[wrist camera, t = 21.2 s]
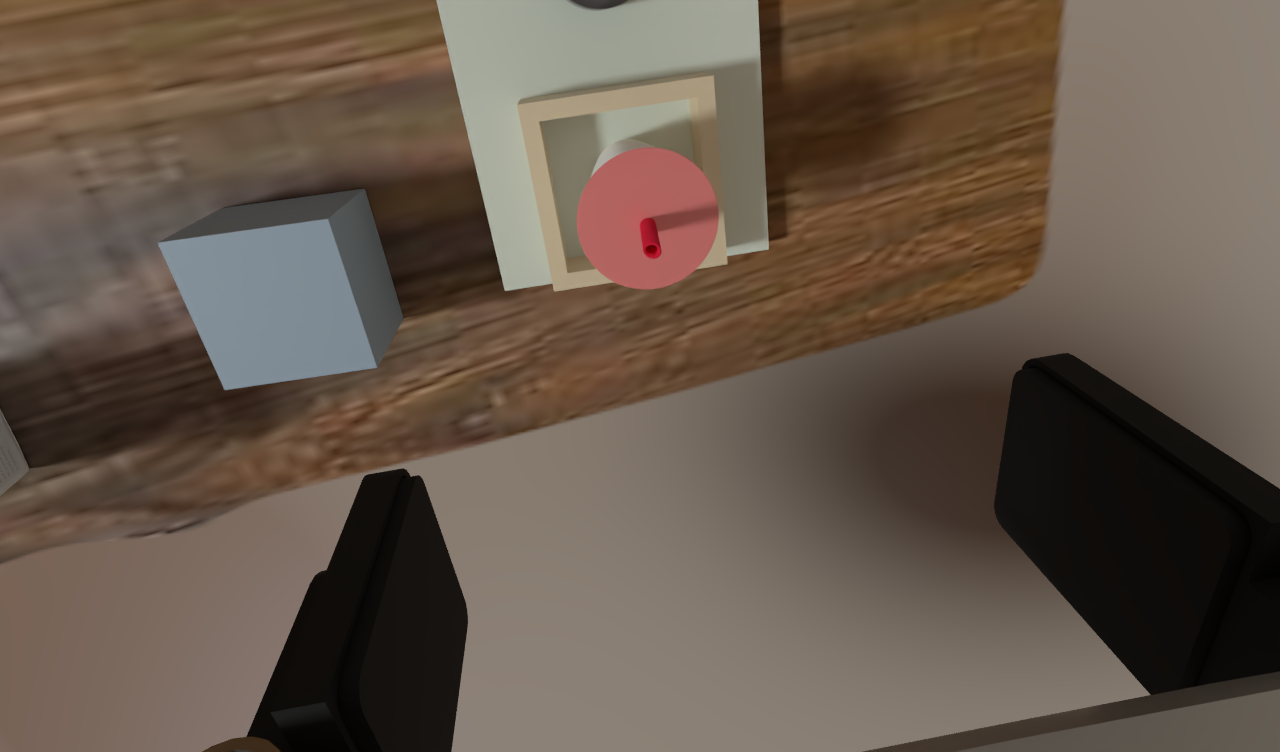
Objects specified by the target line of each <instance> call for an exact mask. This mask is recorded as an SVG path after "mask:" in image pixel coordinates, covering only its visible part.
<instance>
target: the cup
mask: <svg viewBox="0 0 1280 752" xmlns="http://www.w3.org/2000/svg"><path fill="white" fill-rule="evenodd" d="M718 222H719V211H718V203H717V199H716V195H715V192H714V190H713V187H712V185H711V183H710V182H709V180H708V178H707V177H706V175H705V174H704V173H703V172H702V171H701V169H700V168H699V167H698V166H697V165H695V164H694V163H693V162H692V161H690V160H689V159H688V158H686V157H684V156H682V155H680V154H678V153H676V152H673V151H670V150H667V149H662V148H656V147H654V146H651V145H649V144H647V143H644V142H641V141H638V140H632V139H626V140H620V141H617V142H614V143H613V144H611V145H609V146H608V147H607V148H606V149H604V150H603V152H602V153H601V154H600V156H599V157H598V159H597V162H596V164H595V166H594V169H593V172H592V175H591V177H590V180H589V181H588V183H587V184H586V186H585V188H584V190H583V192H582V195H581V198H580V201H579V205H578V210H577V231H578V236H579V240H580V243H581V246H582V248H583V251H584V253H585V254H586V256H587V258H588V259H589V261H590V262H591V263H592V265H593V266H594V267H595V268H596V269H597V270H598V271H599V272H600V273H601V274H603V275H604V276H605V277H607V278H608V279H610V280H611V281H613V282H615V283H617V284H620V285H622V286H626V287H629V288H634V289H657V288H662V287H666V286H669V285H672V284H674V283H676V282H678V281H680V280H682V279H684V278H685V277H687V276H688V275H689V274H691V273H692V272H693V271H694V270H695V269H696V268H697V267H698V266H699V265H700V264H701V263H702V262H703V261H704V259H705V258H706V256H707V255H708V253H709V251H710V250H711V248H712V245H713V243H714V240H715V237H716V234H717V229H718Z"/></svg>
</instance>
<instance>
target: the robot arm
mask: <svg viewBox="0 0 1280 752" xmlns="http://www.w3.org/2000/svg"><path fill="white" fill-rule="evenodd" d="M994 509H995V514H996V517H997V520H998V522H999V524H1000V525H1001V526H1002V528H1003V529H1004V530H1005V531H1006V532H1007V533H1008V535H1009V536H1010V537H1011V538H1012V539H1013V540H1014V541H1015V542H1016V544H1017V545H1018V546H1019V547H1020V548H1021V549H1022V550H1023V551H1024V552H1025V554H1026V555H1027V556H1028V557H1029V558H1030V559H1031V560H1032V562H1033V563H1034V564H1035V565H1036V566H1037V567H1038V568H1039V569H1040V571H1041V572H1042V573H1043V574H1044V575H1045V576H1046V577H1047V579H1048V580H1049V581H1050V582H1051V583H1052V584H1053V585H1054V586H1055V587H1056V589H1057V590H1058V591H1059V592H1060V593H1061V594H1062V595H1063V597H1064V598H1065V599H1066V600H1067V601H1068V602H1069V603H1070V604H1071V605H1072V606H1073V608H1074V609H1075V610H1076V611H1077V612H1078V613H1079V614H1080V616H1081V617H1082V618H1083V619H1084V620H1085V621H1086V622H1087V624H1088V625H1089V626H1090V627H1091V628H1092V629H1093V630H1094V631H1095V632H1096V634H1097V635H1098V636H1099V637H1100V638H1101V639H1102V640H1103V642H1104V643H1105V644H1106V645H1107V646H1108V647H1109V648H1110V649H1111V650H1112V652H1113V653H1114V654H1115V655H1116V656H1117V657H1118V658H1119V660H1120V661H1121V662H1122V663H1123V664H1124V665H1125V666H1126V667H1127V669H1128V670H1129V671H1130V672H1131V673H1132V674H1133V675H1134V676H1135V678H1136V679H1137V680H1138V681H1139V682H1140V683H1141V684H1142V686H1143V687H1144V688H1145V689H1146V690H1147V691H1148V692H1149V693H1150V694H1151V695H1149V696H1144V697H1139V698H1134V699H1129V700H1123V701H1119V702H1113V703H1108V704H1103V705H1098V706H1093V707H1087V708H1082V709H1077V710H1072V711H1066V712H1061V713H1056V714H1051V715H1046V716H1040V717H1035V718H1030V719H1025V720H1020V721H1015V722H1010V723H1005V724H1000V725H995V726H990V727H984V728H979V729H975V730H969V731H964V732H960V733H955V734H949V735H944V736H939V737H934V738H929V739H924V740H919V741H914V742H909V743H904V744H899V745H894V746H889V747H884V748H879V749H874V750H869V751H864V752H1280V489H1279V488H1278V487H1276V486H1274V485H1273V484H1271V483H1270V482H1268V481H1267V480H1265V479H1264V478H1262V477H1260V476H1259V475H1257V474H1256V473H1254V472H1253V471H1251V470H1250V469H1248V468H1247V467H1245V466H1244V465H1242V464H1240V463H1239V462H1237V461H1236V460H1234V459H1233V458H1231V457H1230V456H1228V455H1227V454H1225V453H1224V452H1222V451H1220V450H1219V449H1217V448H1216V447H1214V446H1213V445H1211V444H1210V443H1208V442H1207V441H1205V440H1203V439H1202V438H1200V437H1199V436H1197V435H1196V434H1194V433H1193V432H1191V431H1190V430H1188V429H1186V428H1185V427H1183V426H1182V425H1180V424H1179V423H1177V422H1176V421H1174V420H1173V419H1171V418H1169V417H1168V416H1166V415H1165V414H1163V413H1162V412H1160V411H1159V410H1157V409H1156V408H1154V407H1152V406H1151V405H1149V404H1148V403H1146V402H1145V401H1143V400H1142V399H1140V398H1139V397H1137V396H1135V395H1134V394H1132V393H1131V392H1129V391H1128V390H1126V389H1125V388H1123V387H1121V386H1120V385H1118V384H1117V383H1115V382H1114V381H1112V380H1111V379H1109V378H1108V377H1106V376H1105V375H1103V374H1101V373H1100V372H1098V371H1097V370H1095V369H1094V368H1092V367H1091V366H1089V365H1088V364H1086V363H1084V362H1083V361H1081V360H1080V359H1078V358H1077V357H1075V356H1073V355H1071V354H1069V353H1065V354H1064V353H1063V354H1057V355H1051V356H1045V357H1040V358H1034V359H1030V360H1028V361H1026V362H1025V364H1024V365H1023V367H1022V370H1020V371H1018V372H1016V374H1015V375H1014V378H1013V382H1012V389H1011V395H1010V402H1009V409H1008V415H1007V422H1006V429H1005V435H1004V442H1003V449H1002V456H1001V462H1000V469H999V475H998V482H997V488H996V495H995V502H994ZM467 626H468V615H467V608H466V602H465V599H464V596H463V593H462V590H461V588H460V585H459V582H458V579H457V576H456V574H455V570H454V567H453V564H452V562H451V559H450V556H449V553H448V550H447V547H446V544H445V542H444V539H443V536H442V533H441V530H440V527H439V524H438V521H437V518H436V515H435V513H434V510H433V507H432V504H431V501H430V498H429V495H428V492H427V490H426V487H425V484H424V481H423V479H422V478H421V477H420V476H419V475H418V476H412V477H410V475H409V473H408V472H407V470H405V469H397V470H392V471H386V472H380V473H374V474H369V475H366V476H365V477H364V478H363V480H362V482H361V485H360V488H359V490H358V493H357V495H356V498H355V500H354V503H353V505H352V508H351V510H350V513H349V516H348V518H347V520H346V523H345V525H344V528H343V530H342V533H341V535H340V538H339V541H338V543H337V545H336V548H335V551H334V553H333V556H332V558H331V561H330V563H329V566H328V568H327V570H325V571H321V572H319V573H318V574H317V575H315V577H314V578H313V580H312V582H311V583H310V585H309V588H308V590H307V593H306V595H305V598H304V600H303V602H302V605H301V607H300V610H299V612H298V614H297V617H296V619H295V622H294V624H293V626H292V629H291V632H290V634H289V636H288V639H287V641H286V643H285V646H284V649H283V651H282V653H281V655H280V658H279V660H278V662H277V665H276V667H275V670H274V672H273V675H272V677H271V679H270V682H269V684H268V687H267V689H266V691H265V694H264V696H263V698H262V701H261V703H260V706H259V708H258V711H257V713H256V715H255V718H254V720H253V723H252V725H251V727H250V730H249V732H248V735H247V737H243V738H235V739H230V740H228V741H225V742H222V743H220V744H217V745H214V746H211V747H210V748H208V749H206V750H205V751H203V752H451V749H452V742H453V734H454V727H455V719H456V711H457V704H458V696H459V688H460V680H461V673H462V664H463V657H464V650H465V642H466V634H467Z"/></svg>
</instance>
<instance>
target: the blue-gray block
mask: <svg viewBox="0 0 1280 752" xmlns="http://www.w3.org/2000/svg"><path fill="white" fill-rule="evenodd" d="M158 245H159V247H160V249H161V251H162V253H163V256H164V258H165V260H166V262H167V264H168V267H169V269H170V271H171V273H172V275H173V278H174V280H175V282H176V284H177V286H178V289H179V291H180V293H181V295H182V297H183V300H184V302H185V304H186V306H187V308H188V311H189V313H190V315H191V317H192V319H193V322H194V324H195V326H196V328H197V330H198V333H199V335H200V337H201V339H202V341H203V344H204V346H205V348H206V350H207V352H208V355H209V357H210V359H211V361H212V363H213V366H214V368H215V370H216V372H217V374H218V377H219V379H220V381H221V383H222V385H223V388H224V390H229V389H236V388H243V387H249V386H256V385H263V384H270V383H277V382H283V381H290V380H297V379H304V378H310V377H317V376H324V375H331V374H337V373H344V372H351V371H358V370H364V369H371V368H377V367H378V365H379V363H380V361H381V360H382V358H383V356H384V354H385V352H386V350H387V349H388V347H389V345H390V343H391V341H392V339H393V337H394V336H395V334H396V332H397V330H398V328H399V326H400V325H401V323H402V321H403V319H404V318H403V314H402V311H401V308H400V304H399V301H398V298H397V294H396V291H395V288H394V284H393V281H392V278H391V274H390V271H389V268H388V264H387V261H386V258H385V254H384V251H383V248H382V244H381V241H380V238H379V234H378V231H377V228H376V224H375V221H374V218H373V214H372V211H371V208H370V204H369V201H368V197H367V194H366V191H365V188H364V189H357V190H350V191H343V192H335V193H328V194H321V195H314V196H307V197H299V198H292V199H285V200H278V201H271V202H263V203H256V204H249V205H242V206H234V207H227V208H221V209H219V210H218V211H216V212H214V213H212V214H210V215H208V216H206V217H204V218H203V219H201V220H199V221H197V222H195V223H193V224H191V225H190V226H188V227H186V228H184V229H182V230H180V231H178V232H177V233H175V234H173V235H171V236H169V237H167V238H165V239H164V240H162V241H160V242H158Z"/></svg>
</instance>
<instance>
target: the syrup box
mask: <svg viewBox="0 0 1280 752" xmlns="http://www.w3.org/2000/svg"><path fill="white" fill-rule="evenodd" d="M28 470H29V467H28V464H27V462H26V460H25V458H24V455H23V453H22V451H21V449H20V446H19V444H18V442H17V440H16V438H15V436H14V435H13V433H12V431H11V428H10V427H9V425H8V423H7V421H6V419H5V417H4V415H3V413H2V411H1V410H0V496H1V495H2V494H3V493H4V492H6V491H7V490H8V489H9V488H10V487H11V486H12V485H14V484H15V483H16V482H17V481H18V480H19V479H21V478H22V477H23V476H24V475H25V474H26V473H27V472H28Z"/></svg>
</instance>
